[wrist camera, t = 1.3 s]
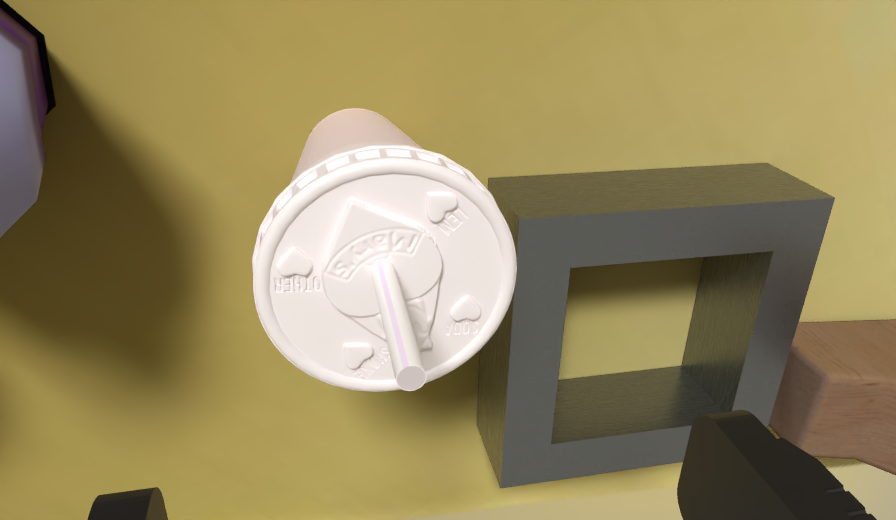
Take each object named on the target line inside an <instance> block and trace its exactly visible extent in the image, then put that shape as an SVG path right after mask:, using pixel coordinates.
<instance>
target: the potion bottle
mask: <svg viewBox="0 0 896 520" xmlns="http://www.w3.org/2000/svg"><path fill="white" fill-rule="evenodd" d="M55 106H56V104H55V98H54V92H53V86H52V81H51V75H50V69H49V64H48V58H47V52H46V46H45V41H44V35H43V34H42V33H41V32H39V31H38V30H37V29H36V28H35V27H34V26H32V25H31V24H30V23H29V22H28V21H26V20H25V19H24V18H23V17H22V16H21V15H19V14H18V13H17V12H16V11H15V10H13V9H12V8H11V7H10V6H9V5H8V4H6V3H5V2H4V1H3V0H0V238H1V237H2V236H3V234H4V233H5V232H6V231H7V230H8V229H9V228H10V227H11V226H12V225H13V224H14V223H15V222H16V221H17V220H18V219H19V218H20V217H21V216H22V215H23V214H24V213H25V212H26V211H27V210H28V209H29V208H30V207H31V206H32V205H33V204H34V203H35V202H36V201H37V198H38V193H39V188H40V183H41V178H42V173H43V168H44V163H45V158H46V149H45V146H44V142H43V137H42V130H43V125H44V121H45V116H46V115H47V114H48V113H49V112H50V111H51V110H52V109H53V108H54V107H55Z"/></svg>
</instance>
